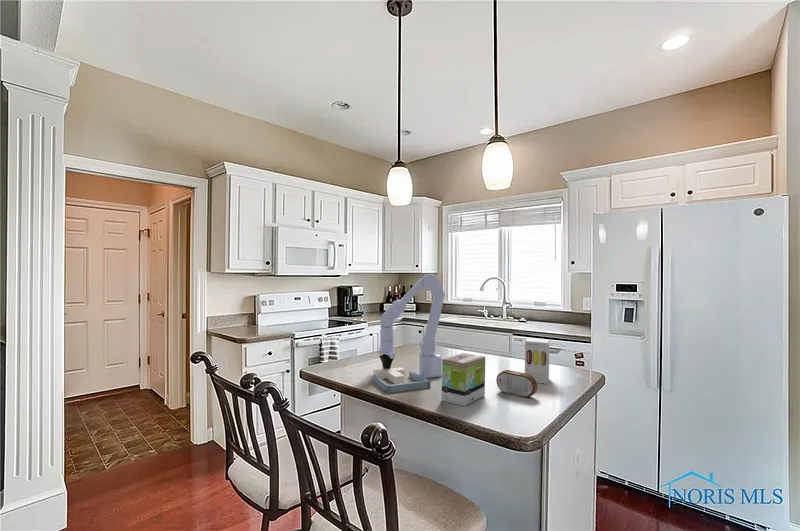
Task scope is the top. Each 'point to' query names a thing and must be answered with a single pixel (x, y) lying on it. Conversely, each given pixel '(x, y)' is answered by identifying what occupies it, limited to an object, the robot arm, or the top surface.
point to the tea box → (463, 378)
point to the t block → (391, 374)
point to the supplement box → (537, 359)
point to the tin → (516, 383)
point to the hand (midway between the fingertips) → (386, 371)
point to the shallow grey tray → (388, 388)
